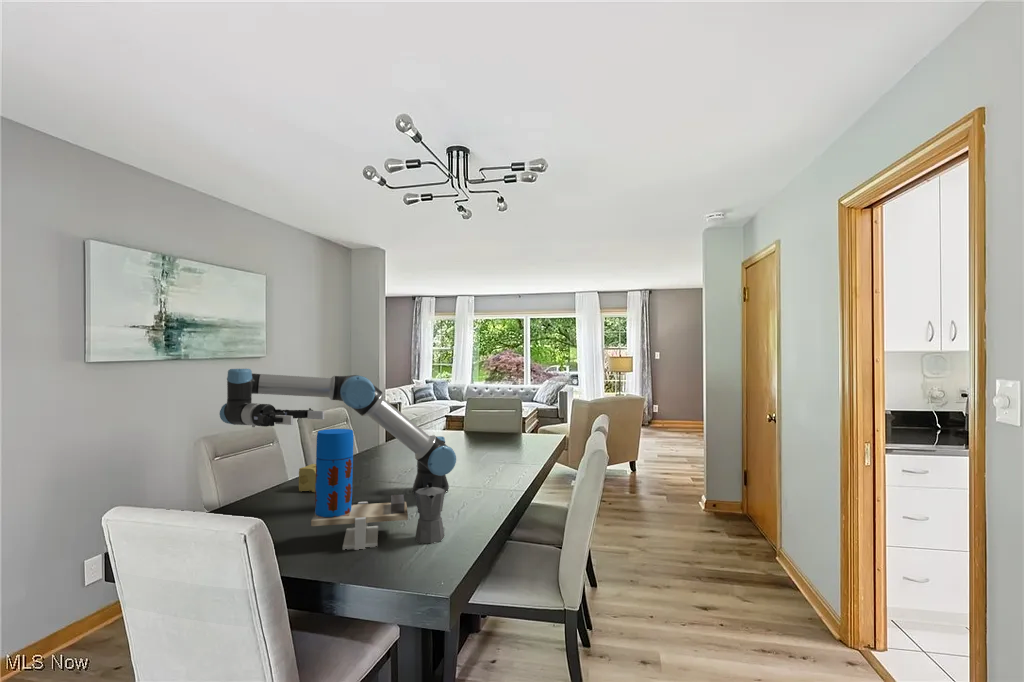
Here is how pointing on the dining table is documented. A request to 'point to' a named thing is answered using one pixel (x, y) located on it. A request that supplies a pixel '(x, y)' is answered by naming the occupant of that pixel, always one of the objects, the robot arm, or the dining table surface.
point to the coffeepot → (429, 514)
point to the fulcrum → (361, 534)
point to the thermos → (334, 472)
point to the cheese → (307, 478)
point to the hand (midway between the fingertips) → (308, 417)
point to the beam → (368, 513)
